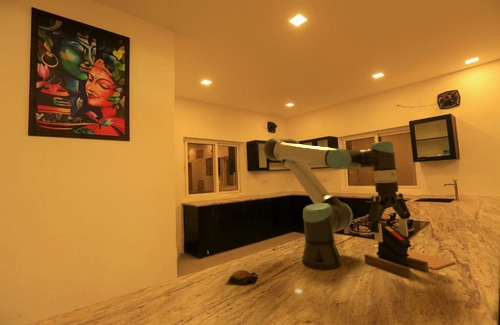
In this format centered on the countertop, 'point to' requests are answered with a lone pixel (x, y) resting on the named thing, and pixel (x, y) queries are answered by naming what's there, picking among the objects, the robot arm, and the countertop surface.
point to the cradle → (397, 265)
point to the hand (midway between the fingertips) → (391, 238)
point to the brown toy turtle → (242, 278)
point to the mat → (430, 260)
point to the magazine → (393, 246)
